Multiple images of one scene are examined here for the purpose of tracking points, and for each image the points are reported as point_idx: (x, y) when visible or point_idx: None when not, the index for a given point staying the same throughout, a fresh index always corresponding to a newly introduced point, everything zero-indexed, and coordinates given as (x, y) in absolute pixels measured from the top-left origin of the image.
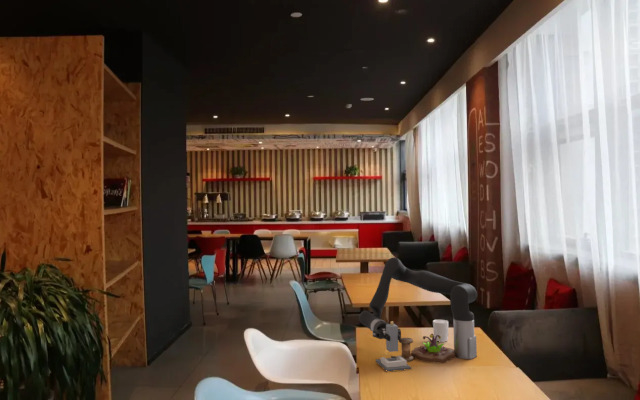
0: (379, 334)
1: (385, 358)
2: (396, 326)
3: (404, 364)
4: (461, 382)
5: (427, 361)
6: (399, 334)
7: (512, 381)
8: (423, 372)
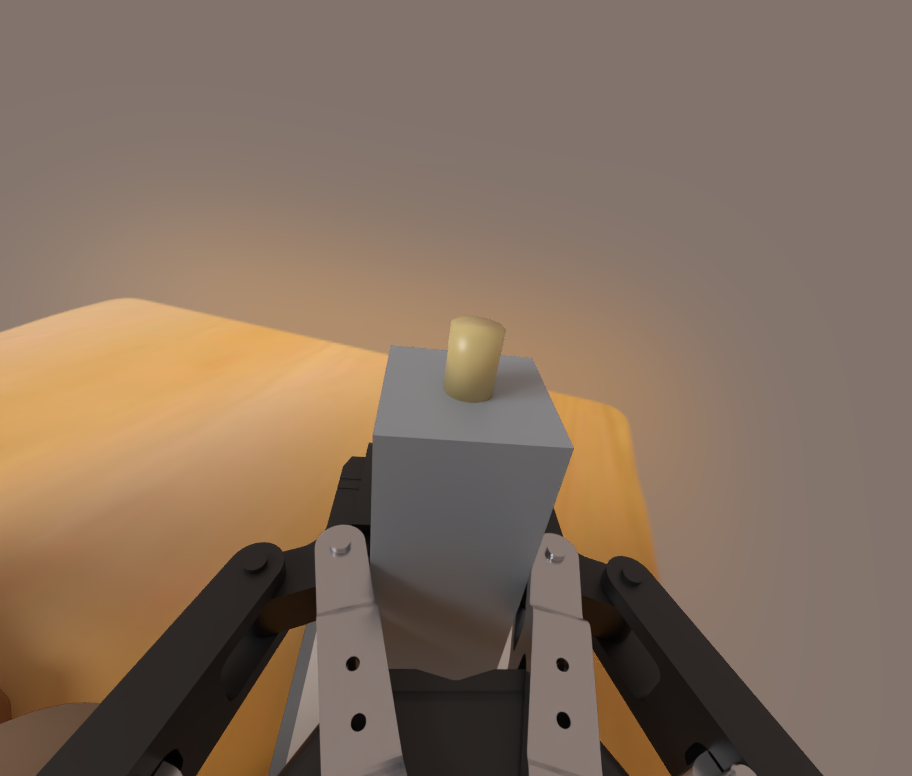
0: (645, 584)
1: None
2: (414, 351)
3: None
4: (233, 382)
5: (9, 713)
6: (289, 560)
7: (47, 342)
8: (288, 503)
